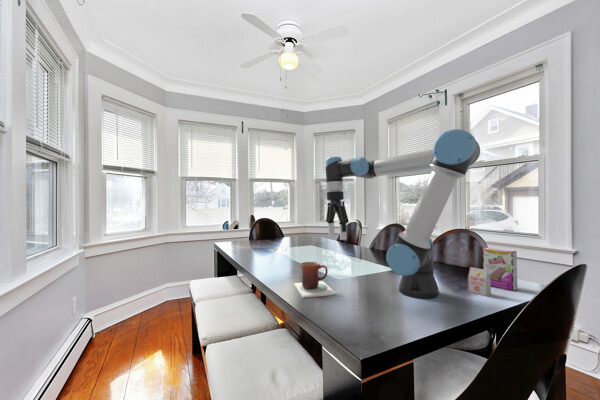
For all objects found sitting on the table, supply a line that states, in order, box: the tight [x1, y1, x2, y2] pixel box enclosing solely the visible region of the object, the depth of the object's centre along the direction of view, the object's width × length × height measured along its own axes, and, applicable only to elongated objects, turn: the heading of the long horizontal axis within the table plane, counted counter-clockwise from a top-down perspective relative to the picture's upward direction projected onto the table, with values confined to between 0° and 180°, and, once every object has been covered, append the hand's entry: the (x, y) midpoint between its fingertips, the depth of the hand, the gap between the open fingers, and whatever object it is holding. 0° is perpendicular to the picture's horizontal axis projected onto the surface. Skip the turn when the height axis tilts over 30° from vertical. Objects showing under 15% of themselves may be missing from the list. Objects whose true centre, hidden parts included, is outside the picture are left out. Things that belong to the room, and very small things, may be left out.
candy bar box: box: [482, 247, 518, 292], centre depth 116 cm, size 11×5×16 cm, turn 34°
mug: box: [299, 261, 329, 289], centre depth 116 cm, size 12×9×10 cm
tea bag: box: [467, 266, 492, 297], centre depth 108 cm, size 4×7×10 cm, turn 28°
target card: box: [293, 280, 337, 299], centre depth 116 cm, size 18×14×1 cm
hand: (337, 238), depth 120 cm, fingers open, 13 cm apart
